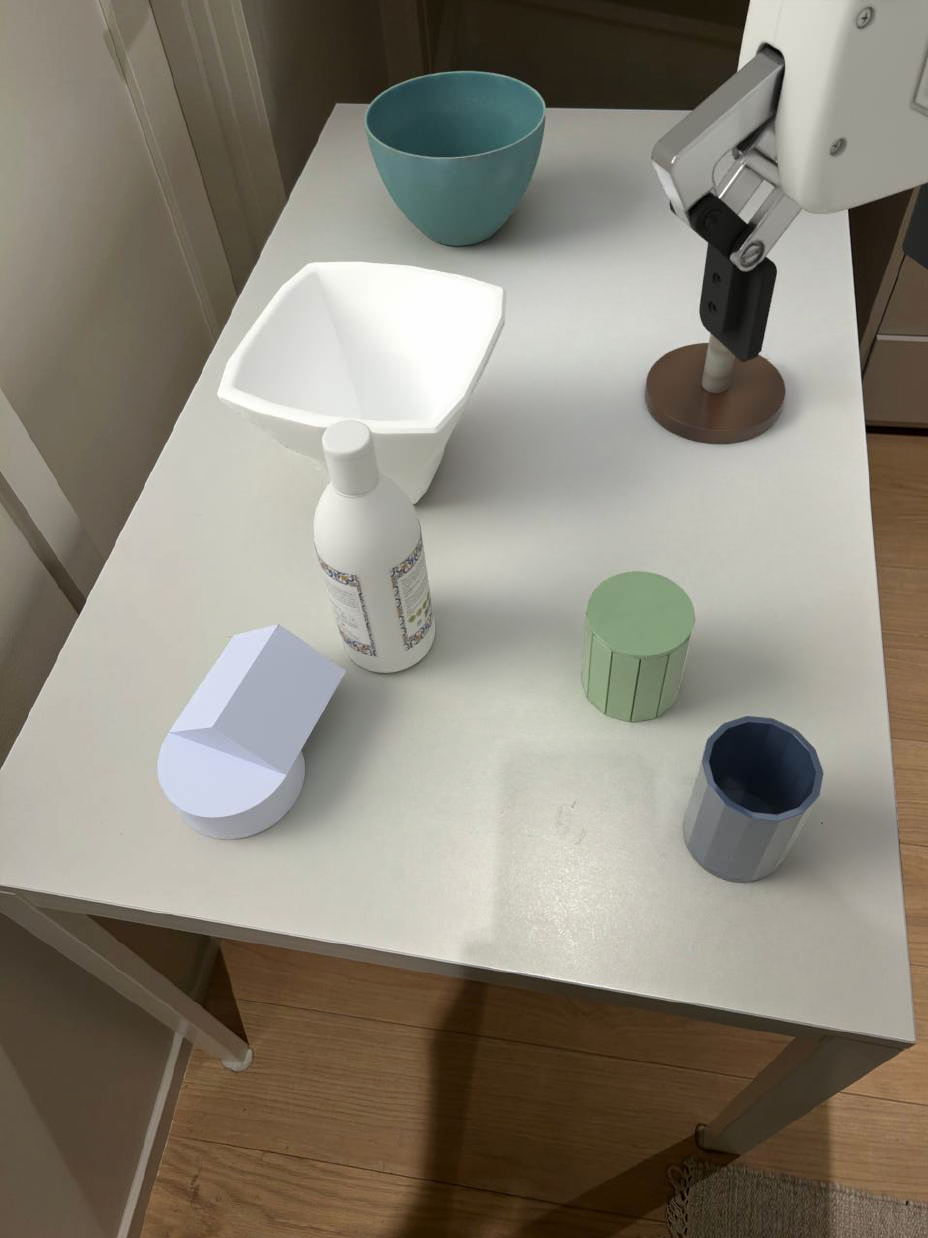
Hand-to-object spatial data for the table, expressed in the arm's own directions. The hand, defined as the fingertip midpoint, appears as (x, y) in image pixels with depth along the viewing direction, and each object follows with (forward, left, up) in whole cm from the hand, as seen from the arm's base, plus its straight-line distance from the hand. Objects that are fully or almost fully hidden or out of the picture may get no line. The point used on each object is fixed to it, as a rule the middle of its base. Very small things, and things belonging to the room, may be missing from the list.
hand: (832, 303), depth 37 cm
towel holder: (+7, -33, -33) cm, 47 cm away
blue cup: (-3, +7, -33) cm, 34 cm away
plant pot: (+39, -54, -33) cm, 74 cm away
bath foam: (+24, 0, -33) cm, 41 cm away
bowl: (+31, -16, -33) cm, 48 cm away
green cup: (+6, -2, -33) cm, 34 cm away
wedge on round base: (+29, +12, -33) cm, 46 cm away
